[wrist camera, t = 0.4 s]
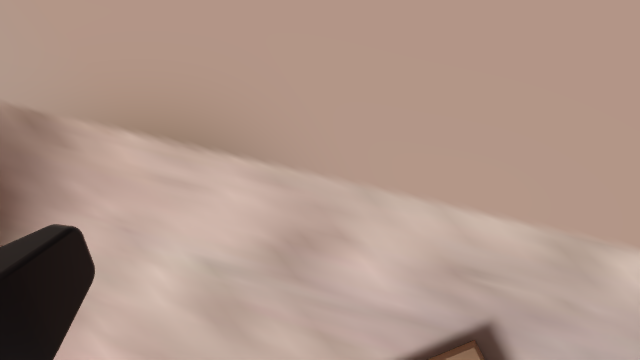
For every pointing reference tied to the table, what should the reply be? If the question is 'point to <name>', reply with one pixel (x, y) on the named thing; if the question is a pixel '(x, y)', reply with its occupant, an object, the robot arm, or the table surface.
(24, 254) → the robot arm
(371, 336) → the table surface
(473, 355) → the walnut coaster
